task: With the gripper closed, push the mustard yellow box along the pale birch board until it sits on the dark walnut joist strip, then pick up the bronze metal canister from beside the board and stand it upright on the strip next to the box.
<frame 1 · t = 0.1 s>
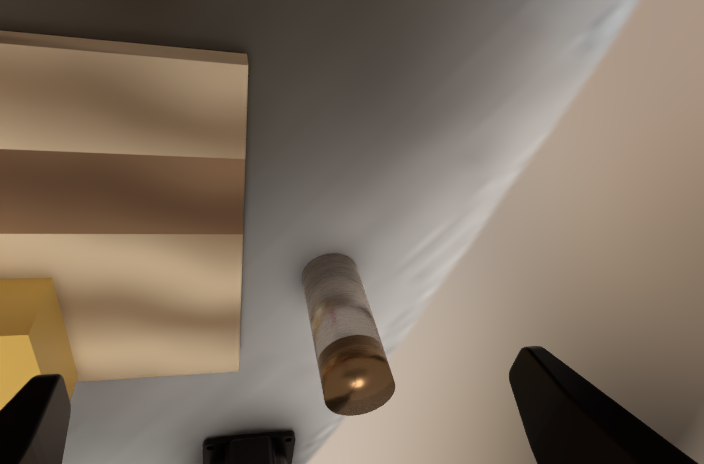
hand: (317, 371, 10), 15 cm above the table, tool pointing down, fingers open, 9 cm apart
mustard yellow box: (8, 333, 24), point 1 cm above the table, touching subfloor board
bronze metal canister: (329, 275, 28), on the table
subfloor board: (67, 232, 23), on the table
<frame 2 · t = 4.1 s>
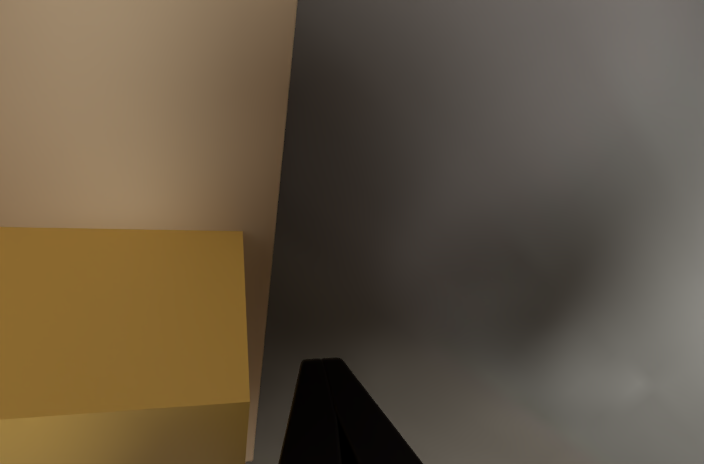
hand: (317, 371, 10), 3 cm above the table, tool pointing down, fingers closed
mustard yellow box: (45, 336, 9), point 1 cm above the table, touching gripper, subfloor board
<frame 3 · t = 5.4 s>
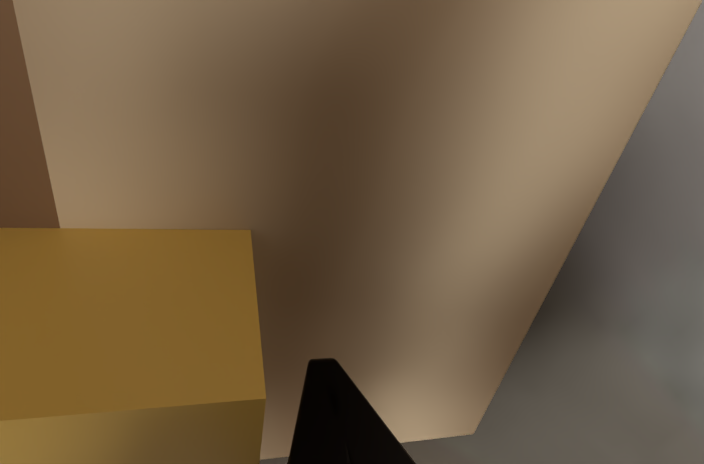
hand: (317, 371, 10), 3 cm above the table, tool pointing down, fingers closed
mustard yellow box: (52, 337, 9), point 1 cm above the table, touching gripper, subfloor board
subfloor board: (137, 162, 9), on the table
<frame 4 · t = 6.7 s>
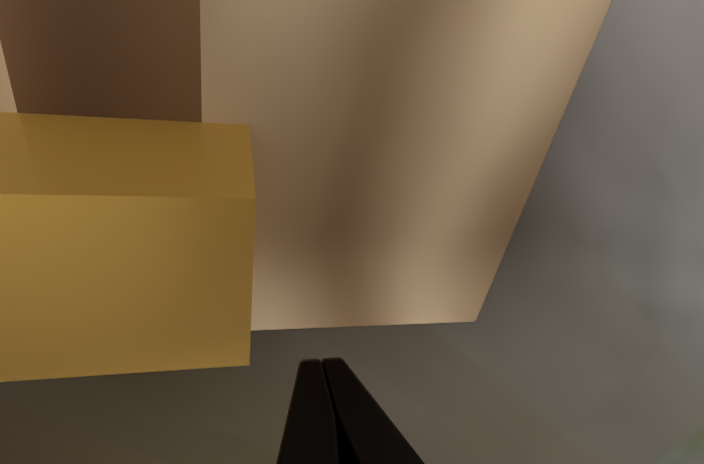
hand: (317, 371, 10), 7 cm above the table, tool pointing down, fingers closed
mustard yellow box: (111, 206, 13), point 1 cm above the table, touching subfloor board
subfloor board: (242, 83, 13), on the table
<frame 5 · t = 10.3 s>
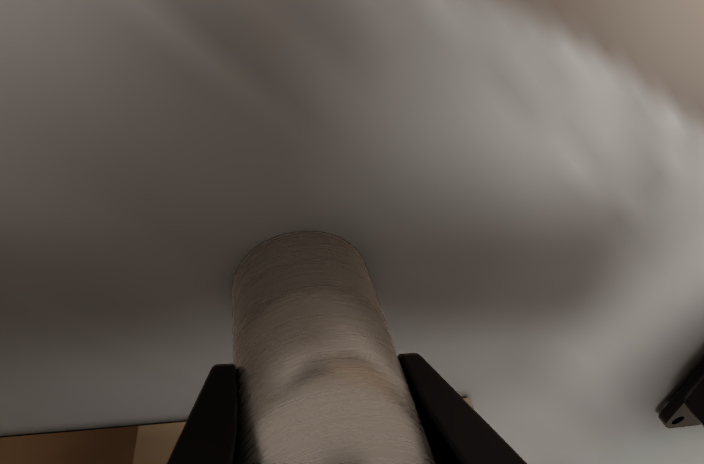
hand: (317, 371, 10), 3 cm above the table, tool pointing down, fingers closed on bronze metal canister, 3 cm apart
bronze metal canister: (301, 285, 12), on the table, touching gripper
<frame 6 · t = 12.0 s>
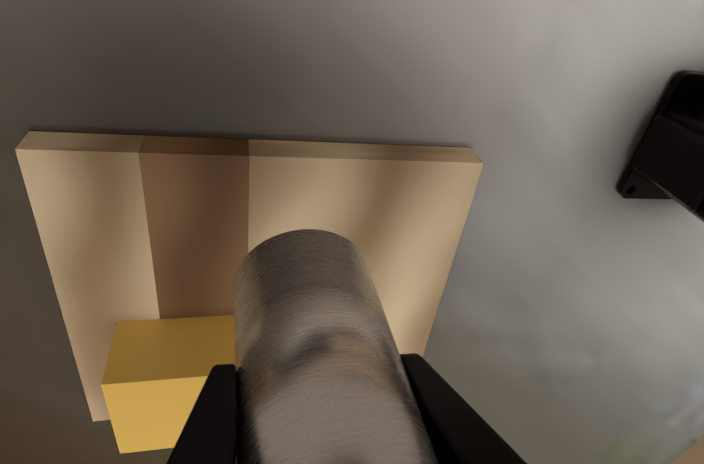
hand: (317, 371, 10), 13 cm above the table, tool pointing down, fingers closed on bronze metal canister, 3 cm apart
mustard yellow box: (200, 352, 25), point 1 cm above the table, touching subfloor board
bronze metal canister: (302, 284, 12), point 10 cm above the table, touching gripper
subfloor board: (266, 284, 25), on the table
when the fingers open (5 cm above the table, at t = 13.9 s): bronze metal canister drops 1 cm, resting on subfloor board.
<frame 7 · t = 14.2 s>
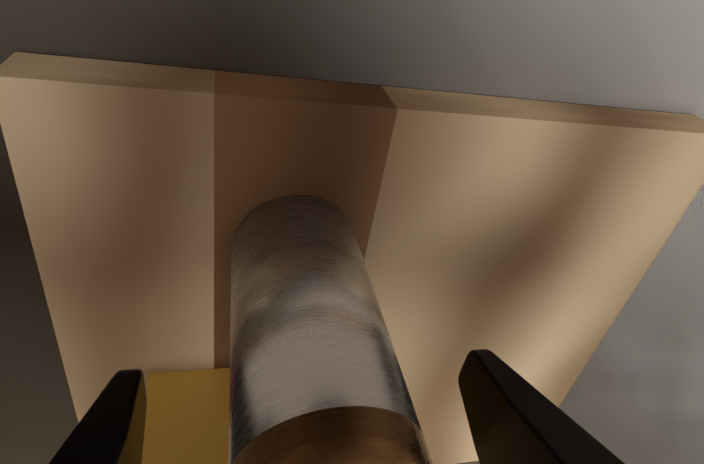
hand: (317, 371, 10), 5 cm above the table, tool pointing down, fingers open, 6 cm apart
mustard yellow box: (265, 413, 17), point 1 cm above the table, touching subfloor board
bronze metal canister: (294, 247, 13), point 2 cm above the table, touching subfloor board
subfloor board: (364, 313, 17), on the table
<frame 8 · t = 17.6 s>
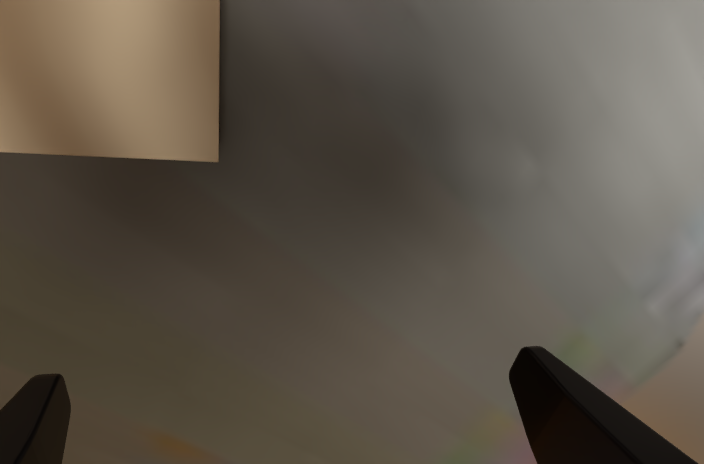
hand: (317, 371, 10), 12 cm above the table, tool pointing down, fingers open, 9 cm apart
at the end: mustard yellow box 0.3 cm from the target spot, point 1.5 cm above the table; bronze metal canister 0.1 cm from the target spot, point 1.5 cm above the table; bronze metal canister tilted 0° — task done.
